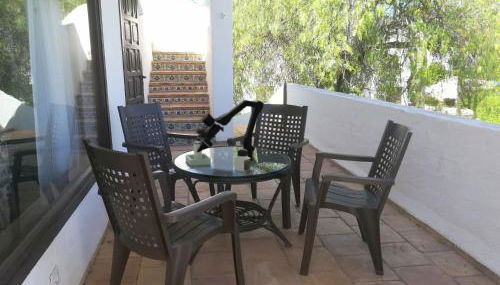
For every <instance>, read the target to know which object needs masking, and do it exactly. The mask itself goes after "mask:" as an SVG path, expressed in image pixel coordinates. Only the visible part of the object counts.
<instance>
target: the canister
mask: <svg viewBox="0 0 500 285" xmlns="http://www.w3.org/2000/svg"><path fill="white" fill-rule="evenodd" d="M201 144H202V142H201V141H197V140H195V141H193V148H194V149H193V154H194V159H202V154H203V150H202V151H200V152H197V150H198V148H199V147H200V146H201Z"/></svg>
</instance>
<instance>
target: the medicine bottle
mask: <svg viewBox="0 0 500 285" xmlns="http://www.w3.org/2000/svg"><path fill="white" fill-rule="evenodd" d="M236 156H237V157H235V158H234V159H233V165H234V167H233V170H234V171H237V172H244V173H245V172H247V171H250V170H251V169H252V168H251V167H252V166H251V165H252V164H251V163H252V162H251V158H249V157H248V151H247V150H244V149H243V148H242V149H238V150H237V154H236Z"/></svg>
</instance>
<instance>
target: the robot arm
mask: <svg viewBox="0 0 500 285" xmlns="http://www.w3.org/2000/svg"><path fill="white" fill-rule="evenodd" d="M247 107H250V108H251V109H250V110H251V113H250V116H249V120H248V124H247V127H246V130H245V133H244V135H241V136H240V138H239V139H240V140H239V144H240V146H241V147H242V149H244V150H247V151H248V157H249V158H251V161H253V160H254V159H255V156H254V155H255V154H254V152H255V151H256V150H255V149H256V147H255V146H253V133H254V130H255V128H256V124H257V120H258V118H259V115H260V113H261V112H262V111H263V108H264V103H263V101H261V100H256V99H255V100H247V99H242V100H241V101H240V102H239V103H238V104H237V105H235V106H234V107H233V108H232V109H230V110H229V111H227V112H226V113H223V114H221V115H219V116H218V117H215V118H214V117H213V116H212V115H211V114H210V113H207V114H205V115H204V116H203V117H202V118H201V120H200V122H202V124H203V125H205V126H206V127H207V128H209V129H206V130H205V129H204V128H199V127H196V128H197V129H196V130H195V133H196V134H197V135H196V139H197V140H196V141H201V142H202V144H201V146H200V147H199V148H198V150H197V152H200V151H202V152H203V151H205V150H207V149H211V148H212V147H213V146H214V143H213V142H212V140H213V139H215V138H216V135H218V133H219V132H220V131H221V132H223V133H224V132H225V130H224V129H225V127H224V126H227V125H228V124H229V123H231V121H232V120H233V118H234V117H235V116H237V115H238V114H239V113H241V111H243V110H244V109H245V108H247ZM192 148H193V149H192V150H194V147H192Z"/></svg>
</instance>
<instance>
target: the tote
mask: <svg viewBox="0 0 500 285" xmlns="http://www.w3.org/2000/svg"><path fill="white" fill-rule="evenodd" d="M211 160H212V158H211V157H210V156H208V155H207V154H206V153H204V152H202V159H194V153H193V154H192V153H191V154H190V153H189V154H185V163H186V164H187V165H188V166H189V167H190V168H195V167H196V168H197V167H199V168H200V167H207V166H208V167H209V166H212V165H211V164H212V162H211Z"/></svg>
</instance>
